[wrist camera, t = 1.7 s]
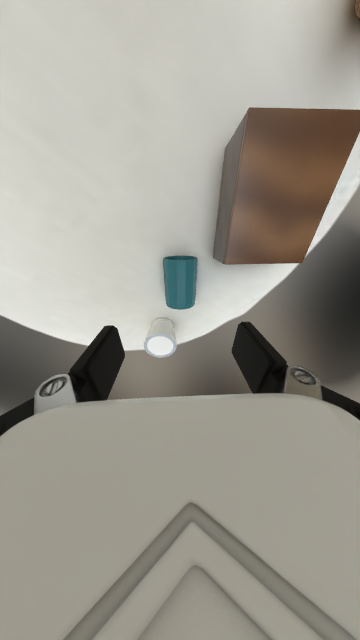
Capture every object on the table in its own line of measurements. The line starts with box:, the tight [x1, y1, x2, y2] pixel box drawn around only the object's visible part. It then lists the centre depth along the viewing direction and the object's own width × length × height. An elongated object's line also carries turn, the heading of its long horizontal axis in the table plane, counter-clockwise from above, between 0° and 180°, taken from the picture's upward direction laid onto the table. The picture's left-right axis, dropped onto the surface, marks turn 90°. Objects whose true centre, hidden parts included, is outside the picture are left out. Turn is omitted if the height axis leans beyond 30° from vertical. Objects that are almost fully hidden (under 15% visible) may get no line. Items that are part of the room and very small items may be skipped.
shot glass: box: [144, 318, 176, 358], centre depth 31 cm, size 7×7×7 cm
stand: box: [213, 108, 360, 264], centre depth 20 cm, size 14×12×7 cm
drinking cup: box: [163, 256, 197, 309], centre depth 25 cm, size 8×6×6 cm
